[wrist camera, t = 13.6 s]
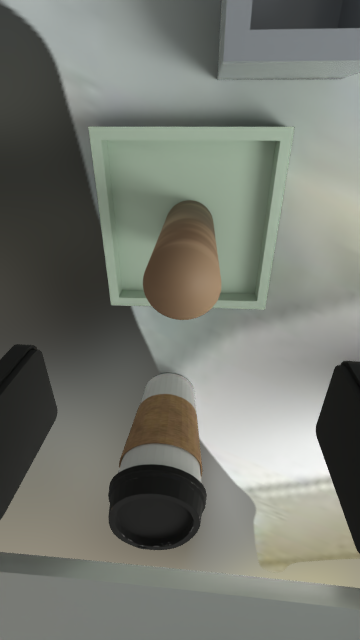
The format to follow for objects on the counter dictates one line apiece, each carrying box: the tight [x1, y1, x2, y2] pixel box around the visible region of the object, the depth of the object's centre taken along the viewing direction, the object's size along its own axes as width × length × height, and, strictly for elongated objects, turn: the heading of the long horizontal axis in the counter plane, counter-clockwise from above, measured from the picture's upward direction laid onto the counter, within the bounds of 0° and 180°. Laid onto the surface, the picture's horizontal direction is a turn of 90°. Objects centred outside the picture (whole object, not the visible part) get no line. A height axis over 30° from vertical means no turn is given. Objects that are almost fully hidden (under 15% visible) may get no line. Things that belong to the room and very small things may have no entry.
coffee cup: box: [108, 373, 206, 550], centre depth 31 cm, size 8×8×15 cm
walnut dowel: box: [143, 200, 221, 320], centre depth 21 cm, size 4×4×12 cm
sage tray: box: [88, 127, 295, 310], centre depth 26 cm, size 14×14×2 cm
